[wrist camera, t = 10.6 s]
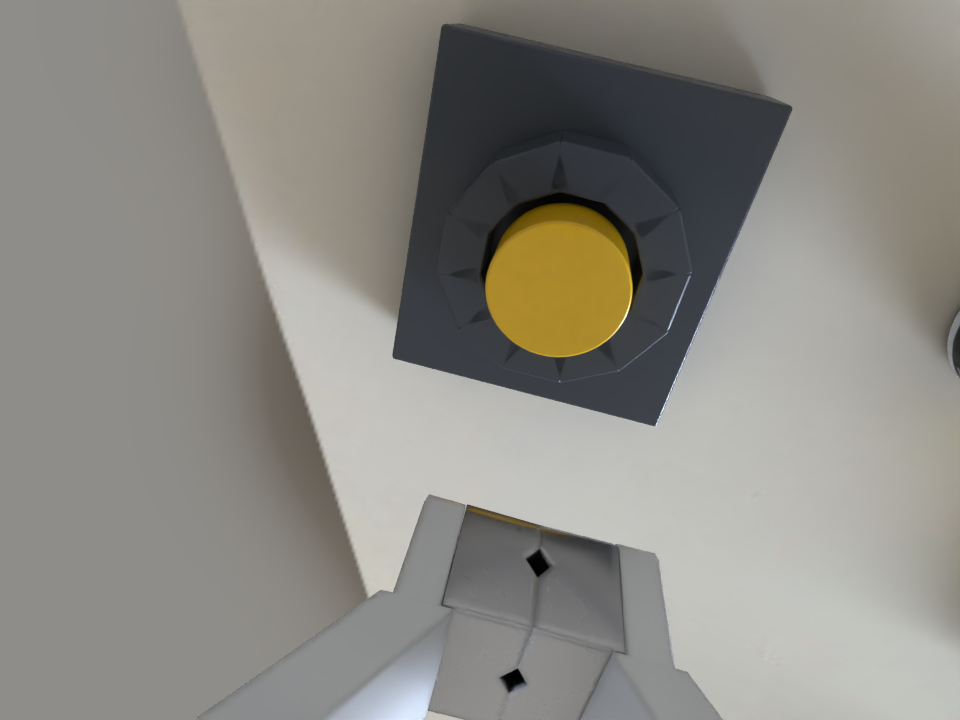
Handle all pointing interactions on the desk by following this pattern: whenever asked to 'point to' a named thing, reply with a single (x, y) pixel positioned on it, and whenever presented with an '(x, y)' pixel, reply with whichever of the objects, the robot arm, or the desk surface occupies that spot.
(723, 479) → the desk surface
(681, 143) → the button block
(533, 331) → the trigger button
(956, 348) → the supplement bottle
